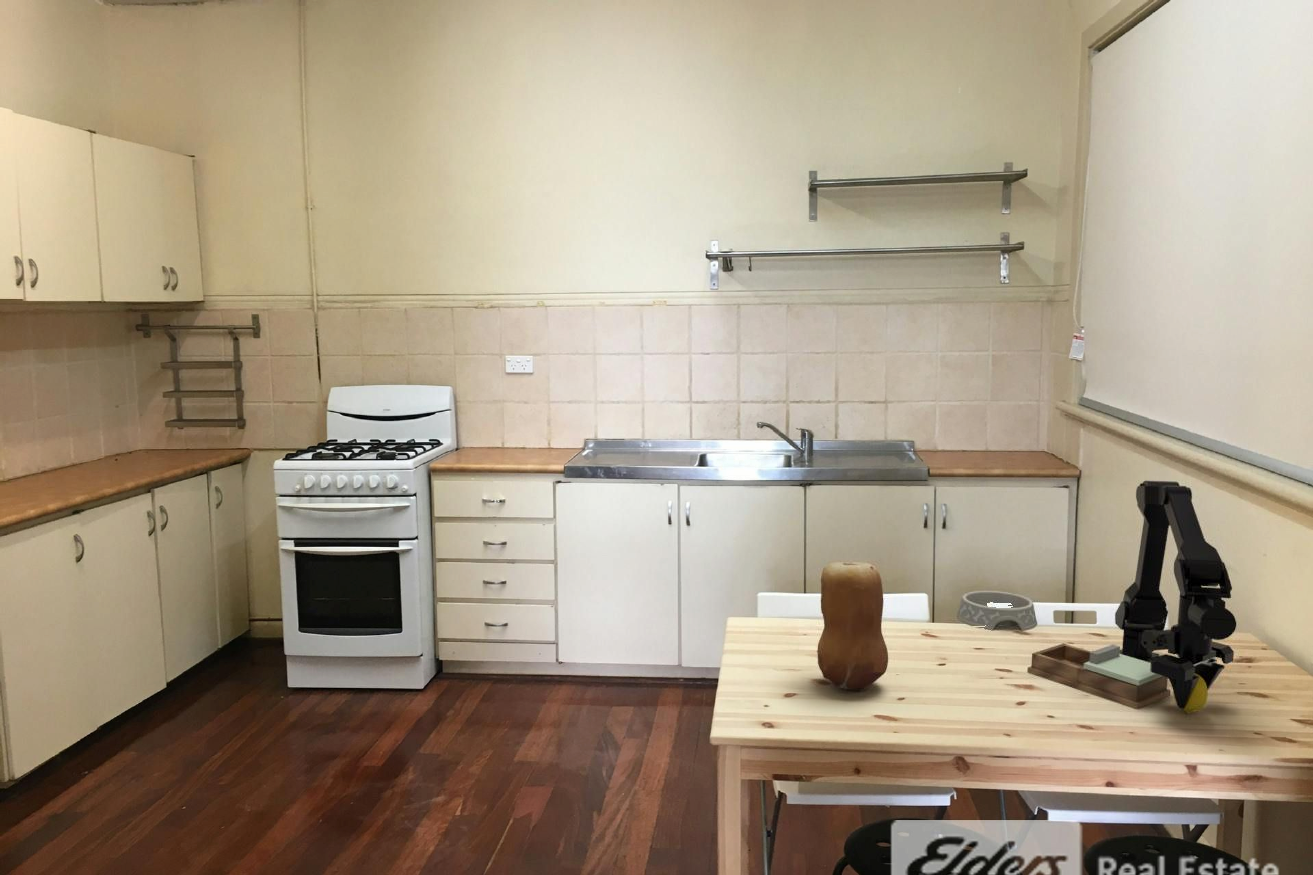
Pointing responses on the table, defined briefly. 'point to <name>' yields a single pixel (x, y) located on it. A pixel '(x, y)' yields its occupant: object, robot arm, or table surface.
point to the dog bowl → (996, 610)
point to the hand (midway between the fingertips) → (1189, 704)
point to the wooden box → (1093, 677)
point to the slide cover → (1120, 666)
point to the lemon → (1197, 696)
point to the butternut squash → (852, 625)
